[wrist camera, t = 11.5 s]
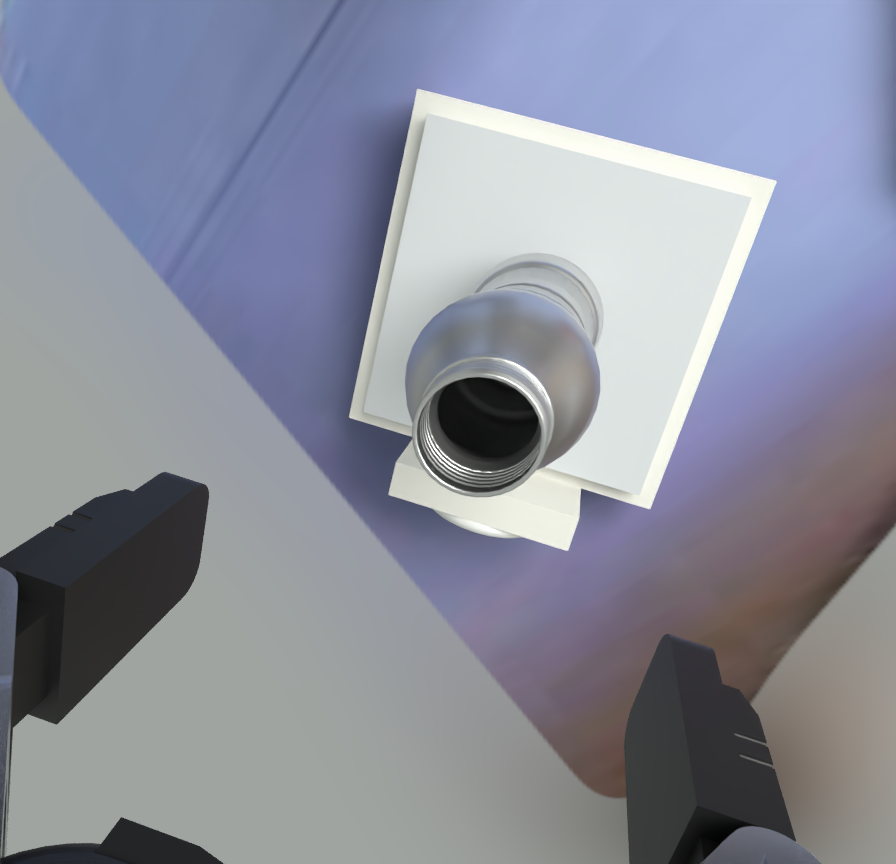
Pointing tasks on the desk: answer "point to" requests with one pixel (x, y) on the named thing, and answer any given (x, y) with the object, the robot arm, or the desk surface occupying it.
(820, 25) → the desk surface
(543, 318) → the silver metal bottle
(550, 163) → the plate
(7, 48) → the desk surface
